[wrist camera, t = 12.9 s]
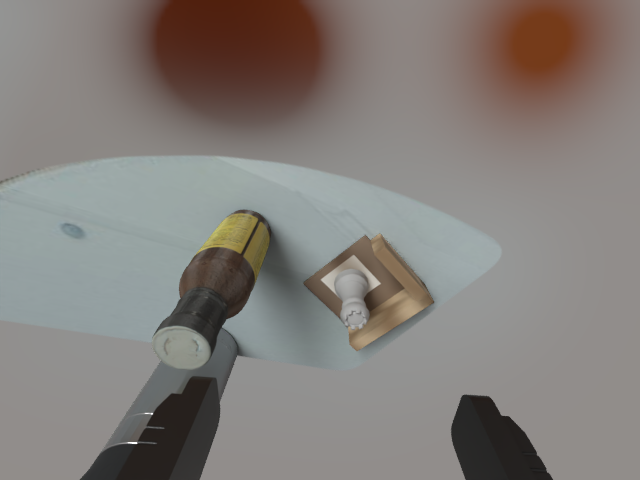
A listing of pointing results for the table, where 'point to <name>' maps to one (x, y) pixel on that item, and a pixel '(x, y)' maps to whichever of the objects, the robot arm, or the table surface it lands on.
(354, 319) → the rook chess piece
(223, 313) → the sauce bottle
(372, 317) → the wooden tray
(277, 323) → the table surface
